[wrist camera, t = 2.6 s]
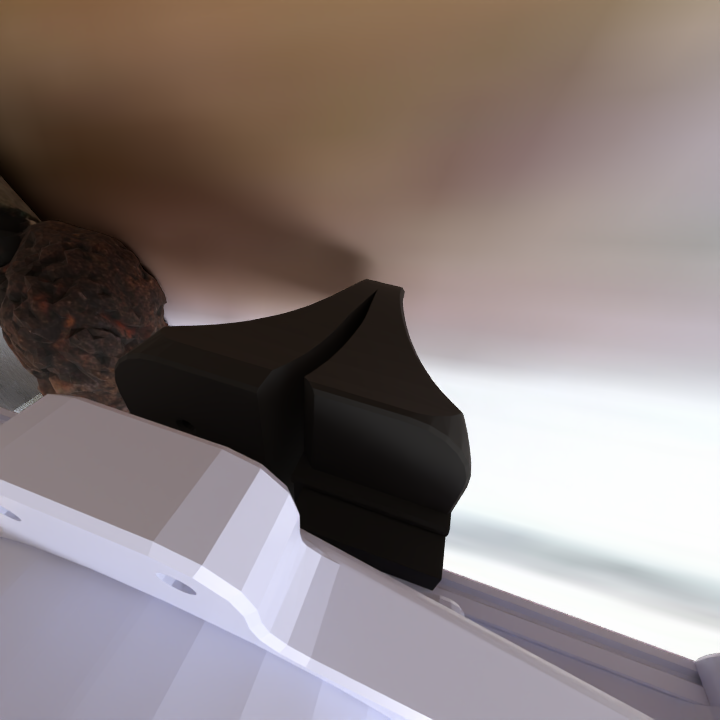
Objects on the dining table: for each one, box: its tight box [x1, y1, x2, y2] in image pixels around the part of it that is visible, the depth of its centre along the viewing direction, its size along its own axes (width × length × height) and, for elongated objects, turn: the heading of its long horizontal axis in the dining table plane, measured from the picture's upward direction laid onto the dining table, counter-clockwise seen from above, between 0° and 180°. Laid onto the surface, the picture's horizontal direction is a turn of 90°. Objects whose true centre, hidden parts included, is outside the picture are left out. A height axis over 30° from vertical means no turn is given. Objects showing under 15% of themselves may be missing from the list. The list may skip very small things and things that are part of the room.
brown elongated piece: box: [0, 176, 168, 414], centre depth 13 cm, size 18×7×6 cm, turn 33°
